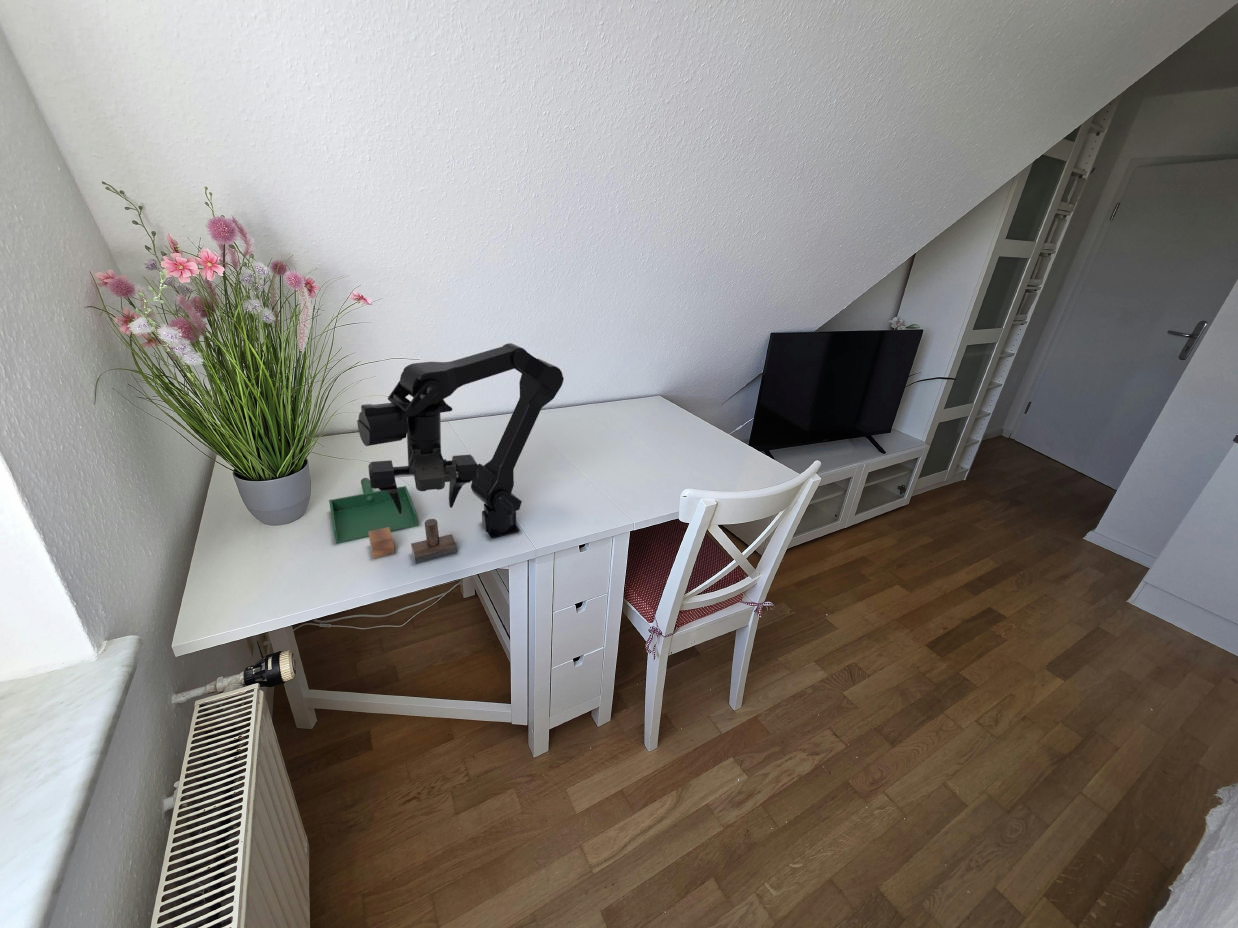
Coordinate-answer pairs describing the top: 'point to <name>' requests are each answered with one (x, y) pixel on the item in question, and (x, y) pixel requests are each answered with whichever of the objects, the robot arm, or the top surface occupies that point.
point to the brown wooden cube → (381, 542)
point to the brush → (433, 544)
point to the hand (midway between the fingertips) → (426, 509)
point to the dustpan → (370, 513)
